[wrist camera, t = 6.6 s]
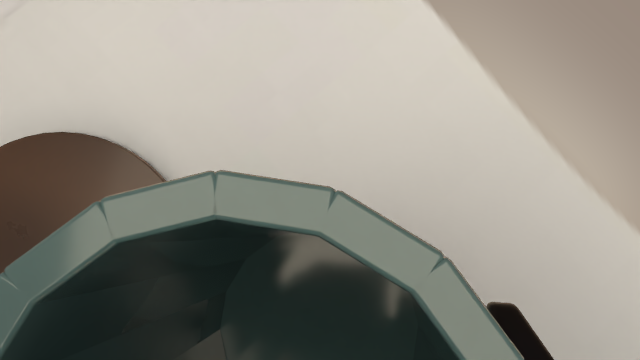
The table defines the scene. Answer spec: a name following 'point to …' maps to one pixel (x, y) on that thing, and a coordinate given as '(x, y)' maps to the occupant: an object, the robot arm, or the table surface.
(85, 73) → the table surface
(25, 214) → the trivet
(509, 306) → the robot arm
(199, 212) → the tumbler
